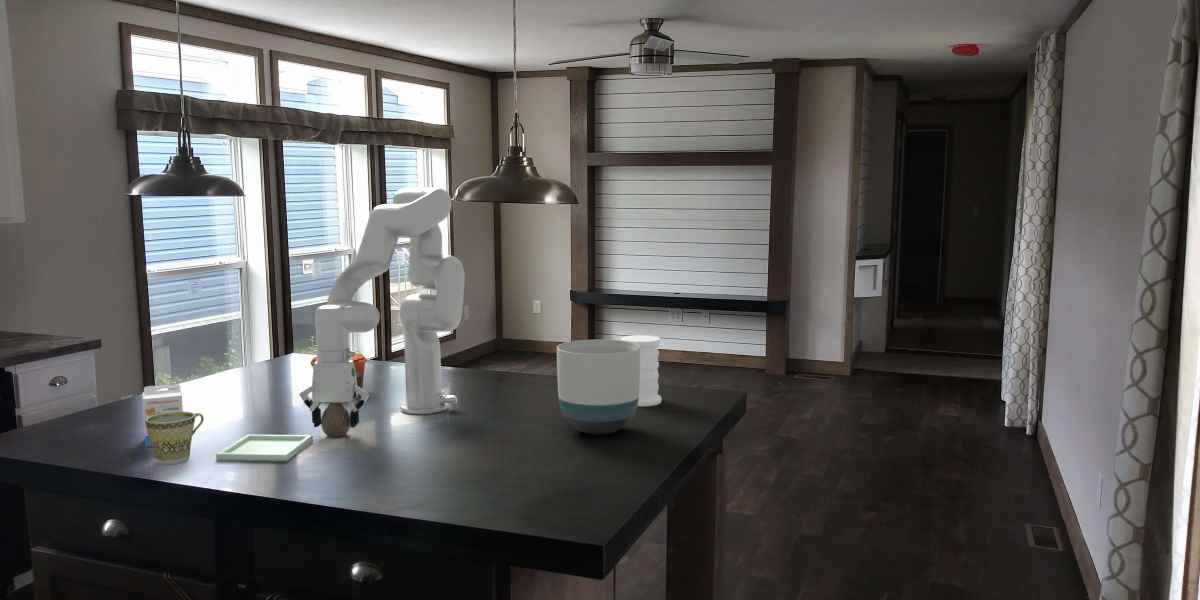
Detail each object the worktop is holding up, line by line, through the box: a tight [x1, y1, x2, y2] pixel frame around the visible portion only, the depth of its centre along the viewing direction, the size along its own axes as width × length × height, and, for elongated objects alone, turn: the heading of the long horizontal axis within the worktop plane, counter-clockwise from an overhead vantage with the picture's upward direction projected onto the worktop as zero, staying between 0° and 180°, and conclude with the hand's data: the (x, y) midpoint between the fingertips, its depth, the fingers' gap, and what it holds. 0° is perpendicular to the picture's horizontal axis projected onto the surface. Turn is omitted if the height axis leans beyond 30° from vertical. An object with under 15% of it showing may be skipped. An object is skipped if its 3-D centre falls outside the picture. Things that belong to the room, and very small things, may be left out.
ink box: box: [142, 383, 184, 448], centre depth 218 cm, size 9×8×13 cm
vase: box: [320, 403, 351, 439], centre depth 222 cm, size 7×7×9 cm
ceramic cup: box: [145, 411, 205, 466], centre depth 204 cm, size 13×10×10 cm
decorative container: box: [620, 334, 662, 407], centre depth 255 cm, size 12×12×18 cm
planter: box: [556, 339, 640, 436], centre depth 223 cm, size 20×20×21 cm
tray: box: [215, 433, 314, 462], centre depth 210 cm, size 16×16×2 cm
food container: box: [310, 353, 368, 389], centre depth 268 cm, size 16×16×11 cm
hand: (335, 425), depth 222 cm, fingers open, 8 cm apart
